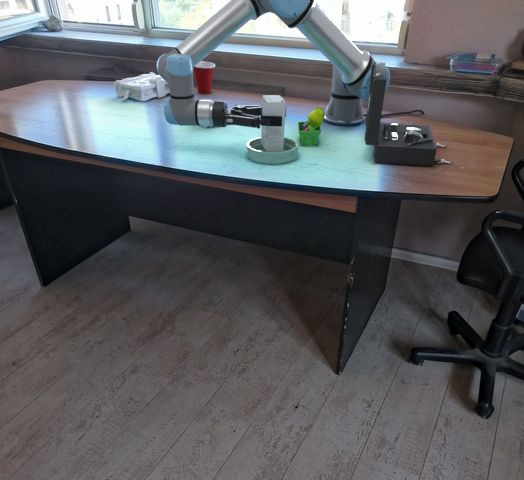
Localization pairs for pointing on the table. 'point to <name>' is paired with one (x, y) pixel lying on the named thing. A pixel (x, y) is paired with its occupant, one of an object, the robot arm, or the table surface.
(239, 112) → the robot arm
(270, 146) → the cosmetic box
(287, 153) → the bowl
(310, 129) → the fruit basket
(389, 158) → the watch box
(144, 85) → the white irregular flat block
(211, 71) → the plastic cup
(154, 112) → the table surface
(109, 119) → the table surface
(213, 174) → the table surface
